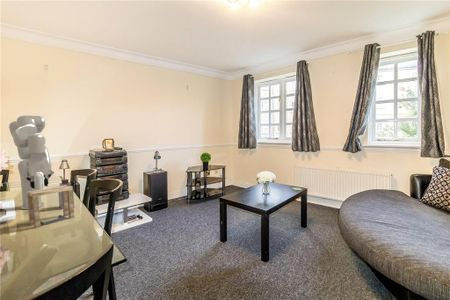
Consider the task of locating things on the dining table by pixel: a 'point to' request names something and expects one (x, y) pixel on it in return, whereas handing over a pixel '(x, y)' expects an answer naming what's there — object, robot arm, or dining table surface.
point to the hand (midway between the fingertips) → (39, 186)
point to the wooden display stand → (33, 195)
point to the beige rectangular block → (64, 182)
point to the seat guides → (53, 220)
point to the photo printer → (39, 181)
